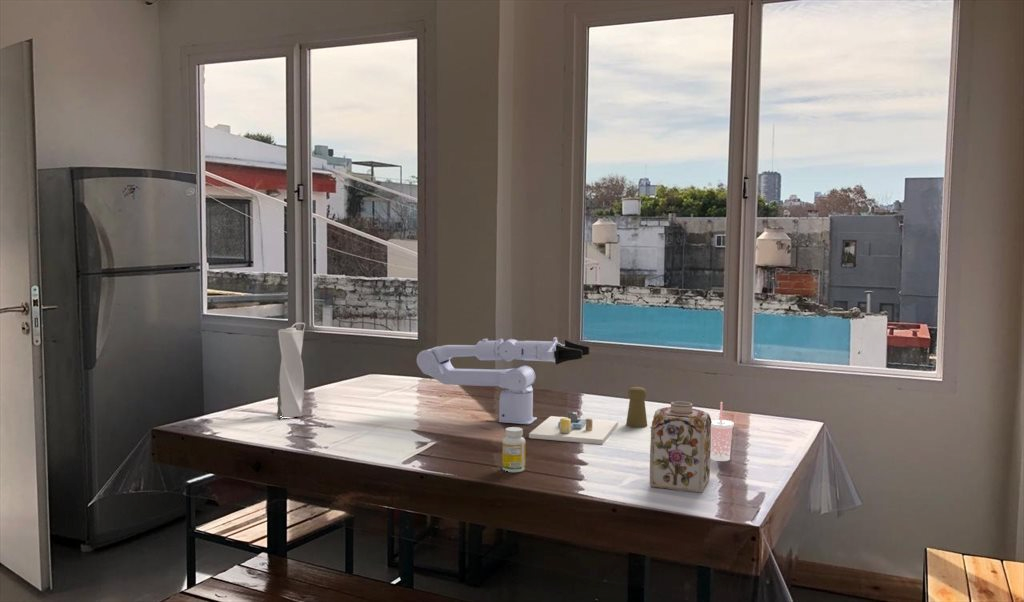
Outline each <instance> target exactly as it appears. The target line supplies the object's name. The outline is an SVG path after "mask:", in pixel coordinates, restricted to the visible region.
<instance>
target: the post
mask: <svg viewBox="0 0 1024 602" xmlns="http://www.w3.org/2000/svg"><path fill="white" fill-rule="evenodd" d="M578 415H579V413H578V412H577V411H567V415H566V416H567V418H569V419H571V422H572V423H577V418H579V416H578Z"/></svg>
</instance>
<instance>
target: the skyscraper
mask: <svg viewBox="0 0 1024 602" xmlns="http://www.w3.org/2000/svg"><path fill="white" fill-rule="evenodd" d="M296 325H303V328H302V330H299V329H298V330H297V327H295V326H296ZM305 328H306V322H303V321H302V322H295V323H293V324H292V325H291V327H286V328H284V329H283V328H281V329H278V330H277V333H278V343H279V349H280V355H281V361H280V368H279V372H278V379H277V381H278V387H277V401H276V403H277V405H276V406H277V411H276V415H278V416H277V419H278V418H282V417H296V416H303V413H302V412H303V406H304V405H303V404H304V397H305V395H304V394H305V373H304V371H305V370H304V366H303V360H302V351H303V345H304V335H305ZM282 414H283V416H282ZM280 416H282V417H280Z"/></svg>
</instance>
